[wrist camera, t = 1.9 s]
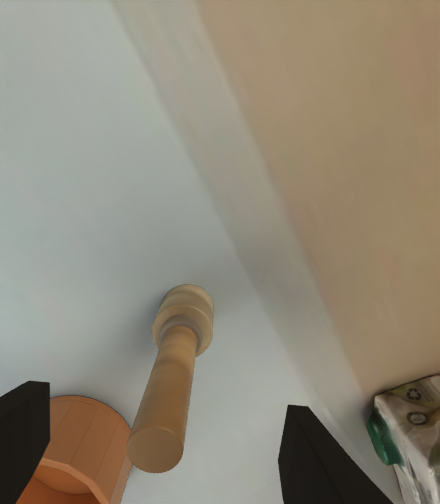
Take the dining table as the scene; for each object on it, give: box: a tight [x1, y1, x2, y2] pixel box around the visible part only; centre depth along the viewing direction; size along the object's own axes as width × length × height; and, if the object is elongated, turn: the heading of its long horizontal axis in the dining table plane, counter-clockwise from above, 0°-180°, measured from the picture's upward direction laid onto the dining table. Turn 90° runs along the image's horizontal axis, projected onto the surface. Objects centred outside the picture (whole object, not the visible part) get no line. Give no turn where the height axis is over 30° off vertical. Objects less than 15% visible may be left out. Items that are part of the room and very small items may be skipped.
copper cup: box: [16, 396, 132, 504], centre depth 19 cm, size 8×8×5 cm
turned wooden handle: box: [126, 285, 214, 473], centre depth 14 cm, size 3×3×10 cm
